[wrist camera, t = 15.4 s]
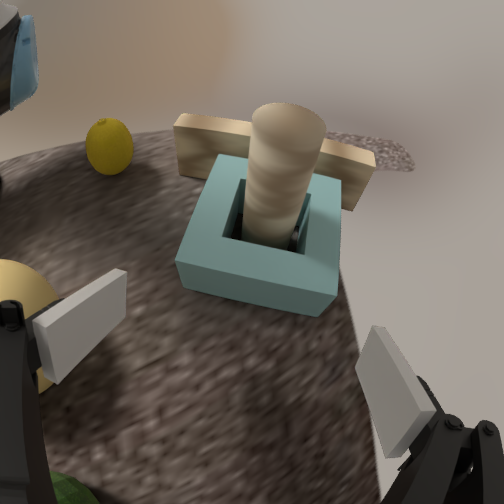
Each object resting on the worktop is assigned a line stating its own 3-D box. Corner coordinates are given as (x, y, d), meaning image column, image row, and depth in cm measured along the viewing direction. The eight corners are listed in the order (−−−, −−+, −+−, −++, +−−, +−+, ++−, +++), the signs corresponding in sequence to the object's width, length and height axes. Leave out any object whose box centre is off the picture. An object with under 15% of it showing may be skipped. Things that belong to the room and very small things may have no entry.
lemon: (115, 195, 29) (95, 140, 22) (89, 178, 31) (69, 128, 24) (148, 166, 32) (136, 111, 25) (120, 152, 33) (106, 102, 26)
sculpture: (2, 291, 22) (-57, 238, 13) (86, 286, 24) (28, 219, 14) (-6, 393, 16) (-81, 368, 7) (85, 409, 18) (3, 398, 9)
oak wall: (179, 174, 31) (173, 125, 25) (186, 161, 33) (182, 113, 27) (352, 211, 31) (375, 167, 25) (351, 196, 32) (373, 152, 26)
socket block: (183, 287, 25) (174, 260, 20) (218, 188, 31) (218, 153, 26) (317, 317, 24) (337, 295, 20) (326, 211, 30) (341, 180, 26)
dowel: (235, 260, 26) (245, 133, 14) (245, 223, 29) (259, 97, 17) (282, 271, 26) (326, 151, 14) (289, 232, 29) (326, 112, 17)
